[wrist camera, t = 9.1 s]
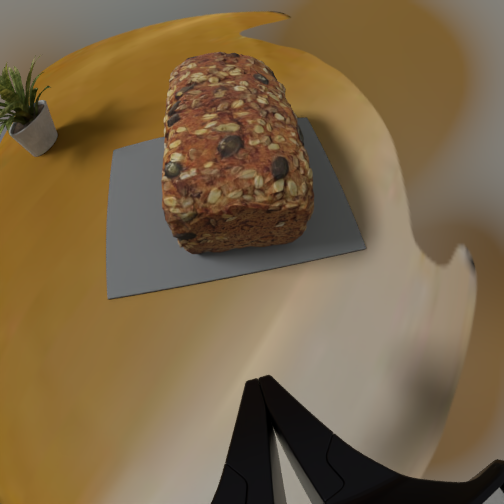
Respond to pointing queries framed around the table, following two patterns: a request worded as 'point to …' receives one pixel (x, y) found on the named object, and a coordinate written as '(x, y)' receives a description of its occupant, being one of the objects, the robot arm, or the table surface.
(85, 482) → the table surface
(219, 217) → the bread
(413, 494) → the robot arm
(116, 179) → the serving mat
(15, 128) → the house plant
